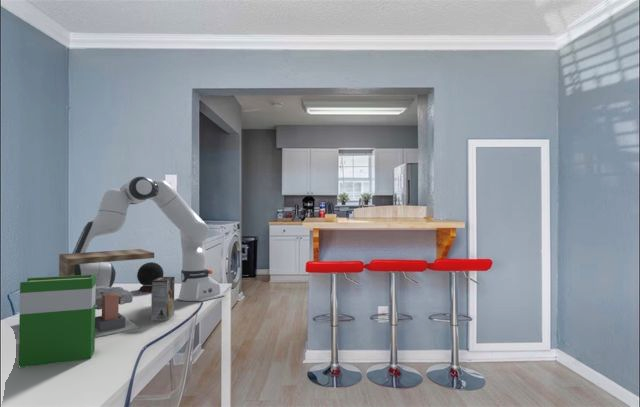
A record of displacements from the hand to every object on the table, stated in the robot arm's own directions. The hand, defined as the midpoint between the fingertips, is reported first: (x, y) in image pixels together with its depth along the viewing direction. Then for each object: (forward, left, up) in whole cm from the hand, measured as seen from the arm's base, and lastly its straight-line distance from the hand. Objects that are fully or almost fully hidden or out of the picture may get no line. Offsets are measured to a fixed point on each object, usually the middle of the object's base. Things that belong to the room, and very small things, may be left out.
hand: (108, 304), depth 145 cm
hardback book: (+19, +23, -9) cm, 31 cm away
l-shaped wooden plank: (0, +2, -9) cm, 9 cm away
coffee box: (-20, +1, -9) cm, 22 cm away
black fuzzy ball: (-34, -55, -9) cm, 65 cm away
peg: (0, +2, -8) cm, 8 cm away
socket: (0, +2, -9) cm, 9 cm away
